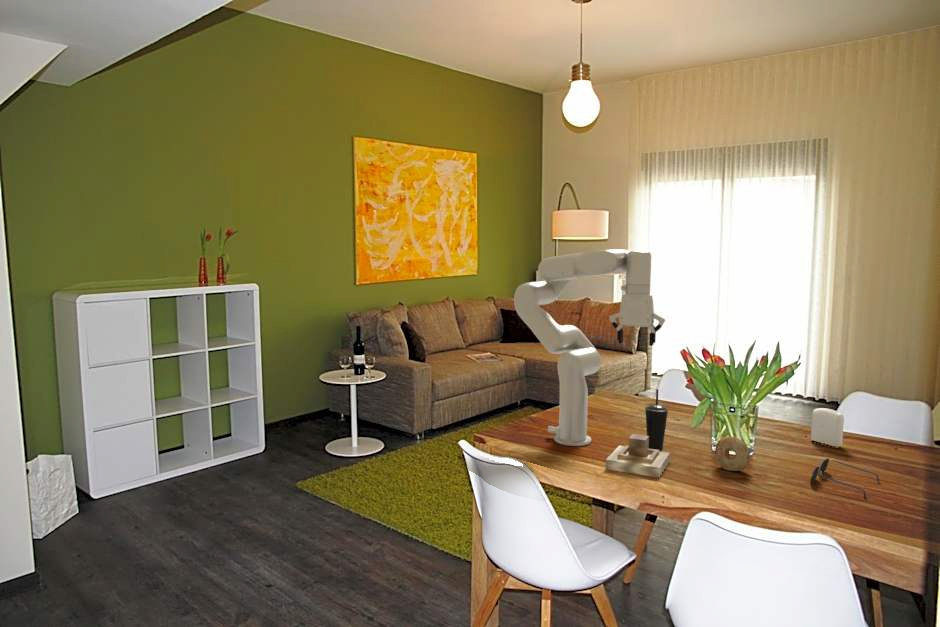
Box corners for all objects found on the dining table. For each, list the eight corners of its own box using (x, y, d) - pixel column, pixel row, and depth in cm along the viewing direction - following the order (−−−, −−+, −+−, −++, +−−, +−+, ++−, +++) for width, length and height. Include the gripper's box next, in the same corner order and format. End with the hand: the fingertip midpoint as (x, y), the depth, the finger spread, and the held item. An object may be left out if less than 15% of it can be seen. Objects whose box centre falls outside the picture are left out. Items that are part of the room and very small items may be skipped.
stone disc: (711, 467, 211) (713, 435, 210) (716, 464, 214) (718, 433, 212) (746, 475, 204) (747, 442, 203) (750, 472, 207) (752, 440, 206)
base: (605, 469, 209) (606, 455, 208) (619, 454, 223) (619, 441, 222) (659, 477, 202) (659, 463, 201) (669, 461, 216) (670, 448, 215)
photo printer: (808, 441, 239) (810, 406, 237) (816, 439, 241) (818, 405, 239) (836, 449, 230) (838, 413, 228) (844, 447, 232) (846, 411, 231)
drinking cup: (667, 452, 225) (670, 392, 223) (643, 451, 227) (645, 391, 224) (666, 445, 233) (668, 387, 230) (642, 444, 234) (644, 386, 232)
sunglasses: (824, 471, 209) (827, 456, 208) (878, 489, 200) (882, 473, 199) (807, 487, 196) (811, 470, 195) (864, 507, 187) (868, 490, 186)
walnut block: (628, 457, 211) (628, 438, 210) (632, 452, 215) (632, 433, 215) (644, 459, 209) (645, 440, 208) (648, 454, 213) (648, 436, 212)
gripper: (607, 289, 217) (605, 343, 219) (663, 292, 209) (661, 347, 211) (613, 288, 223) (612, 340, 225) (668, 290, 216) (666, 344, 218)
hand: (635, 344), depth 218 cm, fingers open, 9 cm apart
